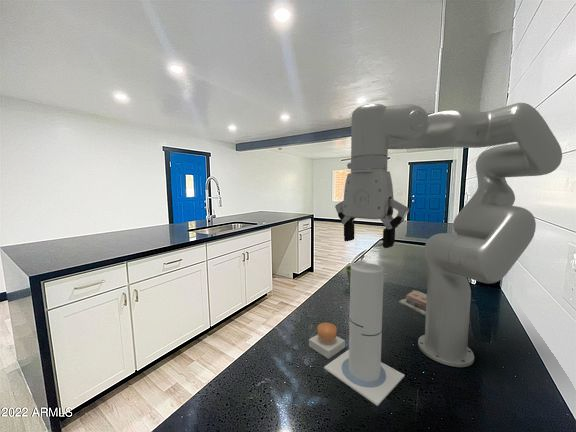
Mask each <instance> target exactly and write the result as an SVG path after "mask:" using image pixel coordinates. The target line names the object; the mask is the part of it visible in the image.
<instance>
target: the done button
mask: <svg viewBox="0 0 576 432" xmlns="http://www.w3.org/2000/svg"><path fill="white" fill-rule="evenodd" d="M316 327H317V330H316V331H317V333H316V335H317V334H318V336H319V337H320V338H321V339H324V340H333V339H335V338H336V336H337V335H338V333H337V332H338V331H337V330H338V327H337V326H336V325H335V324H333V323H332V322H321V323H319V324H318V325H317V326H316Z"/></svg>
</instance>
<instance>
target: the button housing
mask: <svg viewBox="0 0 576 432" xmlns="http://www.w3.org/2000/svg"><path fill="white" fill-rule="evenodd" d="M308 347H310V349H313V350H314V351H315V352H317V353H319V354H320V355H322V356H323V357H324V358H327V359H328V360H329V359H331V358H332V357H334V356H335V355H336V354H338V353H339V352H341V351H343V350H344V349H345V348H346V340H345V339H343V338H341V337H340V336H336V338H335V339H333V340H324V339H321V338H320V337H319V336H318V334H317V333H316V335H314V336H312V337H311V338H309V339H308Z"/></svg>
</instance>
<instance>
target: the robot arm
mask: <svg viewBox="0 0 576 432" xmlns="http://www.w3.org/2000/svg"><path fill="white" fill-rule="evenodd" d="M350 122H351V124H350V125H351V134H350V138H351V139H350V140H351V143H350V144H351V145H350V162H348V163H347V165H346V167H347V169H348V170H350V173H347V175H346V179H345V184H344V189H343V190H344V192H343V200H342V201H340V202H338V203H337V204H335V206H334V207H335V210H336V212H337V216H338V218H339V220H340V221H341V224H342V225H343V241H344V242H350V241H354V240H355V223H354V221H355V219H362V220H363V219H364V220H380V222H381V223H382V224H383V225H384V227H385V228H384V229H383V230H382V231H383V232H382V248H384V249H389V248H392V247H393V246H394V244H395V243H396V228H398V227H399V225H400V224H402V223H403V222H404V220H405V218H406V217H407V216H408V213H409V211H410V208H409V207H408V206H406V205H405V204H403V203H401V202H399V201H397V200H395V199H394V187H393V181H392V180H393V179H392V175H391V171H388V158H389V157H388V155H389V154H388V153H389V152H388V150H410V149H411V150H412V149H436V148H437V149H438V148H439V149H440V148H465V149H466V148H467V149H468V148H470V149H471V148H473V149H476V148H478V149H479V148H481V149H482V148H488V147H491V148H488V149H486V150H483V151H482V152H481V153H480V154H479V155H478V157H477V158H476V161H475V171H476V172H475V173H476V177H477V189H476V191H475V192H474V194H473V196H471V198H470V199H469V200H468V201H467V202H466V204H465V205H464V206H463V207H462V209H461V210H460V211H459V212H458V213H457V215H456V216H455V218H454V220H453V223H452V228H453V231H454V232H455V233H450V232H449V233H448V232H444V233H443V232H442V233H437V234H434V235H432V236H431V237H429V238H428V239H427V241H425V242H426V243H425V245H424V260H425V264H426V265H425V266H426V273H427V274H426V275H427V277H426V278H427V280H426V281H427V282H426V283H427V284H426V285H427V286H426V294H427V300H426V316H425V320H424V321H425V323H424V326H425V328H424V334H423V335H421V336H419V338H418V339H417V346H418V349H419V350H420V351H421V352H422V353H423V354H424V355H425V356H427V357H428V358H429V359H431V360H433V361H435V362H437V363H440V364H442V365H444V366H450V367H455V368H465V367H469V366H471V365H473V363H475V355H474V352H473V351H472V349H471V348H470V347H469V346H468V341H469V328H470V327H469V325H470V313H471V312H470V311H471V299H472V290H471V289H472V288H471V286H470V282H469V280H468V279H470V280H474V281H477V282H478V283H479V282H480V283H484V284H495V283H497V282H499V281H501V280H502V279H503V278H504V277H505V276H506V275H507V274H508V273H509V271H510V270H511V269H512V268H513V266H515V264H516V262H518V260H519V258H520V257H521V256H522V254H523V253H524V252H525V250H526V249H527V248H528V247H529V245H530V243H531V242H532V241H533V238H534V236H535V233H536V227H537V222H536V219H535V216H534V214H533V213H532V212H531V211H529V210H528V209H526V208H525V207H522V206H515V205H514V203H515V201H516V195H515V192H514V191H513V188H511V186H510V185H509V184H508V182H507V180H506V178H520V177H538V176H544V175H545V176H546V175H549V174H551V173H553V172H554V171H555V170H557V168H559V166H560V165H561V163H562V159H563V152H562V147H561V145H560V143H559V141H558V140H557V138H556V136H555V134H554V133H553V131H552V129H550V127H549V125H548V123H547V122H546V120H545V118H544V117H543V116H542V115H541V113H540V112H539V111H538V110H537V109H536V108H534V106H532V105H530V104H529V103H526V102H517V103H513V104H510V105H506V106H502V107H499V108H495V109H493V110H487V111H477V110H476V111H474V110H462V109H447V110H443V111H439V112H434V113H431V114H428V113H427V111H426V110H425V109H424V108H423V107H422V106H419V105H416V104H410V103H409V104H398V105H384V104H380V103H368V104H367V103H366V104H363V105H360V106H358V107H357V108H355V109H353V112H352V114H351V121H350ZM394 209H395V210H396V211H397V214H396V216H395V217H393V214H394Z"/></svg>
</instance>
